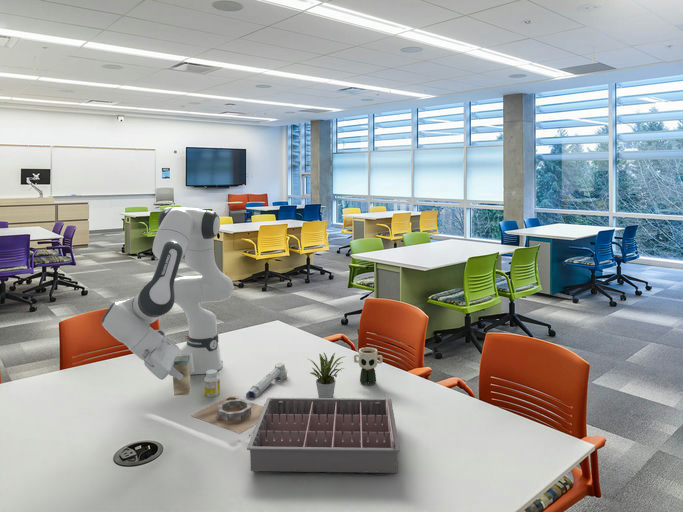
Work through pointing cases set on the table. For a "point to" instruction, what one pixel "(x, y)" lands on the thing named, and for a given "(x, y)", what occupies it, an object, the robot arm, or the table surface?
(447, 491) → the table surface
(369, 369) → the character mug
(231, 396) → the oak ring
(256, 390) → the electric toothbrush
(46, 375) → the table surface
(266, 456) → the organizer tray
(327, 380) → the house plant
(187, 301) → the robot arm
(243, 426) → the collar board
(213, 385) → the supplement bottle
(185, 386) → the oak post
